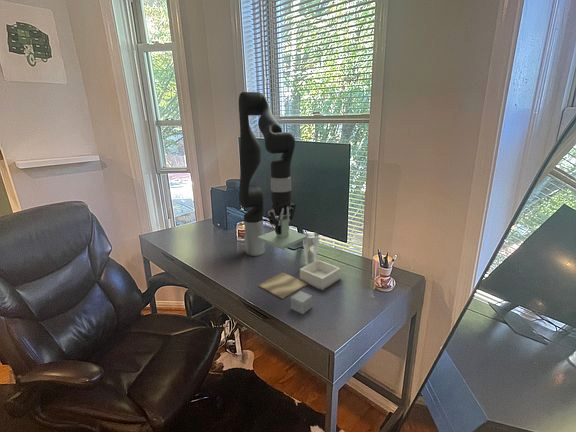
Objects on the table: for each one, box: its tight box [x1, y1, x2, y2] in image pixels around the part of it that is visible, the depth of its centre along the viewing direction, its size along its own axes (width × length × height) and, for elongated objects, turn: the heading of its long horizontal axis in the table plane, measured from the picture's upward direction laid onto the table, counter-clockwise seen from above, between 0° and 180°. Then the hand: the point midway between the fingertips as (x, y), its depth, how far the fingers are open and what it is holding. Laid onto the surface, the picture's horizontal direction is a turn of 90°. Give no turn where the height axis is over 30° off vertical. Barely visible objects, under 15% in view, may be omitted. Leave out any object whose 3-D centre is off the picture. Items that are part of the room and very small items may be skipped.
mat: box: [257, 272, 308, 300], centre depth 128 cm, size 14×14×1 cm
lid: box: [258, 218, 307, 250], centre depth 121 cm, size 14×14×8 cm
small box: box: [290, 290, 313, 315], centre depth 113 cm, size 6×6×5 cm
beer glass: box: [302, 231, 320, 267], centre depth 142 cm, size 7×7×15 cm
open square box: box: [299, 259, 342, 291], centre depth 131 cm, size 12×12×5 cm
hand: (282, 232), depth 121 cm, fingers closed on lid, 3 cm apart
